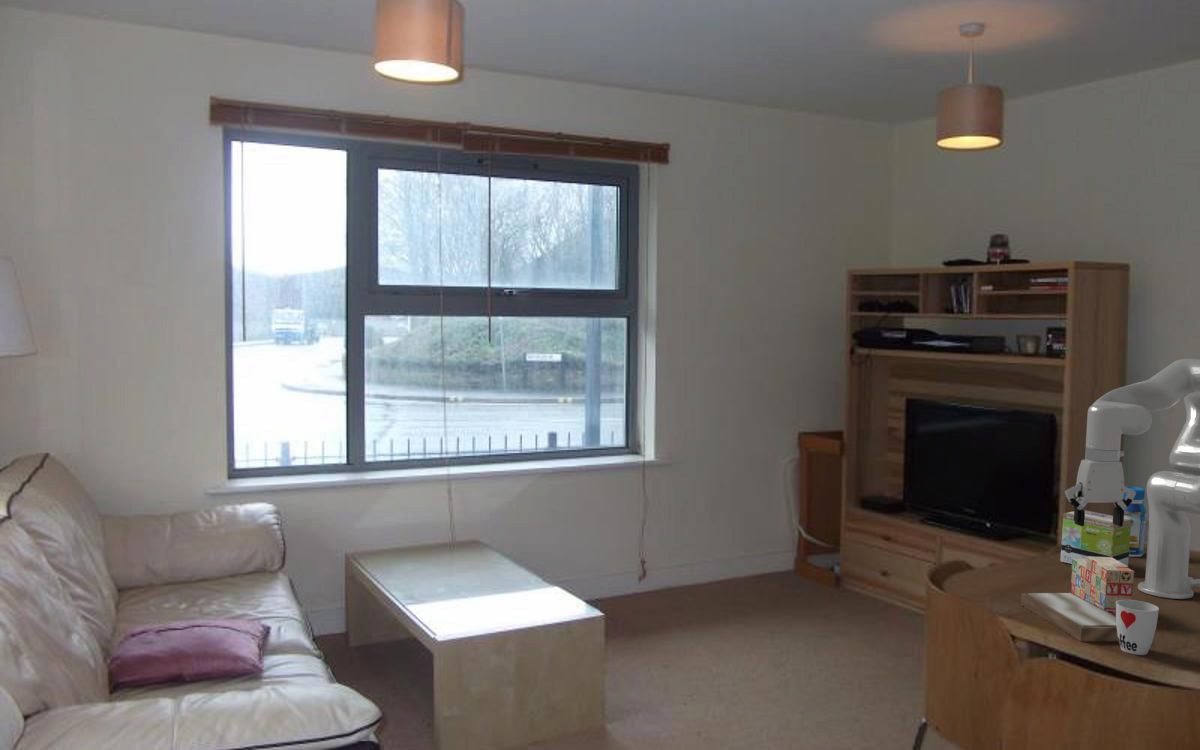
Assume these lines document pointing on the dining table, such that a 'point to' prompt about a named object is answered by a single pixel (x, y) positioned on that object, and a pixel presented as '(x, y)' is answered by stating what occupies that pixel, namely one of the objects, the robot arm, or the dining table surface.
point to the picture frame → (1073, 615)
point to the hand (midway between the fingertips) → (1098, 525)
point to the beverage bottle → (1136, 522)
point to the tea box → (1095, 538)
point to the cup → (1136, 625)
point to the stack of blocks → (1102, 581)
